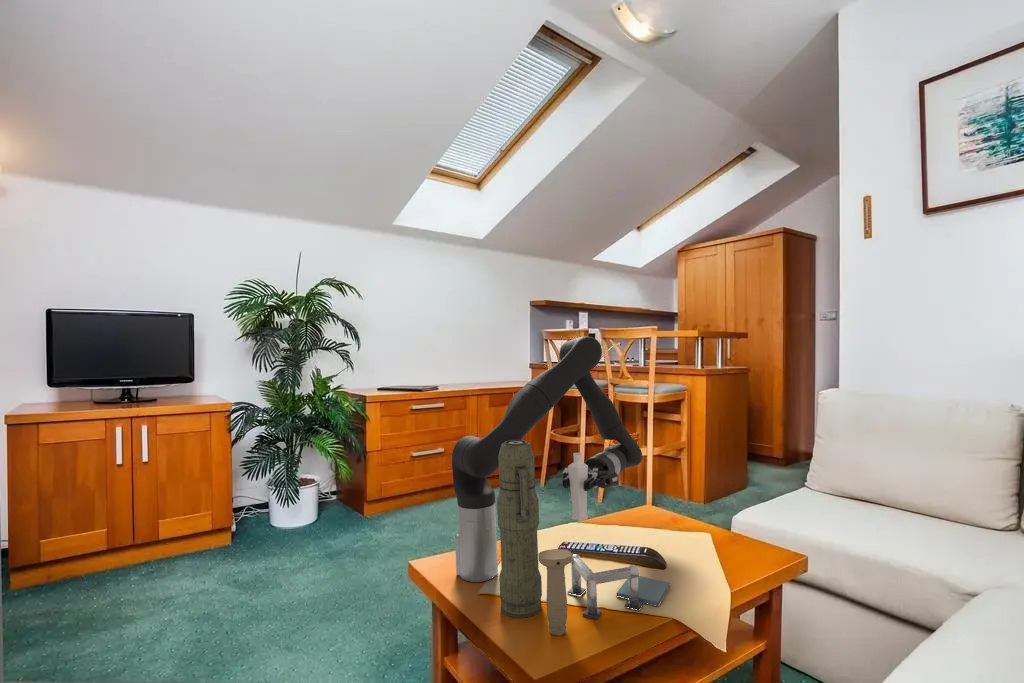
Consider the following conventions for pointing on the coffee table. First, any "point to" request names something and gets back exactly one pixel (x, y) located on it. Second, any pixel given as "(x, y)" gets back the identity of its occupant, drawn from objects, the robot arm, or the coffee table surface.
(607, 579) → the bent rail
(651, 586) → the slate mat
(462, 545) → the robot arm
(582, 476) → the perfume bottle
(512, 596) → the thermos
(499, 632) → the coffee table surface
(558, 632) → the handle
